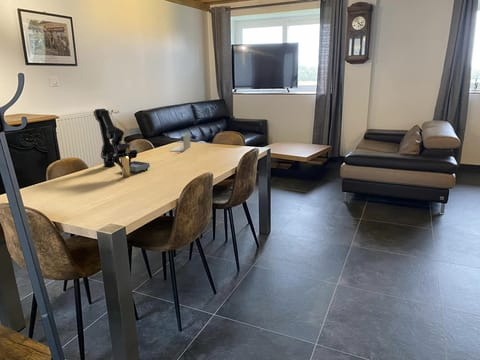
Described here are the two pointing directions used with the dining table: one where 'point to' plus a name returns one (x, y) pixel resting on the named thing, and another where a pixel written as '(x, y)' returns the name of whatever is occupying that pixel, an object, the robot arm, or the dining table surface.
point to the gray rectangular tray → (138, 166)
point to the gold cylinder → (125, 166)
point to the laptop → (186, 144)
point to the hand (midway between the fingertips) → (126, 166)
